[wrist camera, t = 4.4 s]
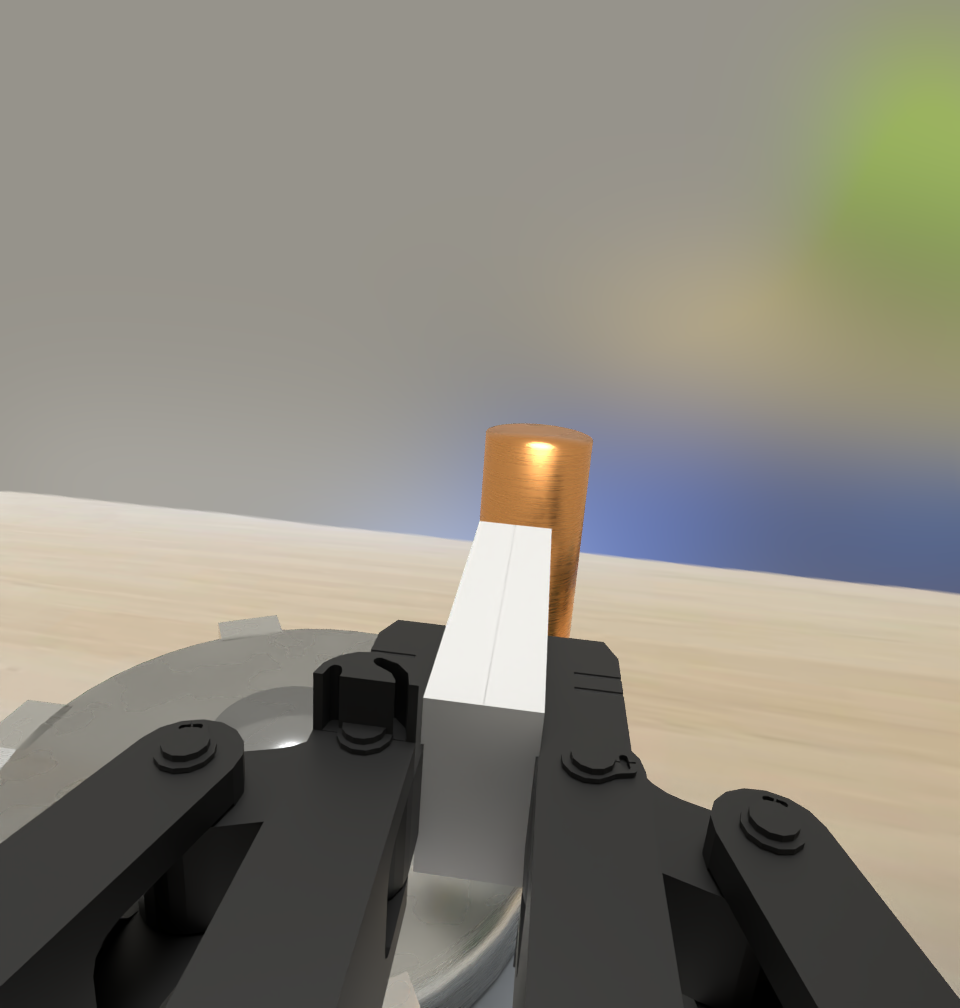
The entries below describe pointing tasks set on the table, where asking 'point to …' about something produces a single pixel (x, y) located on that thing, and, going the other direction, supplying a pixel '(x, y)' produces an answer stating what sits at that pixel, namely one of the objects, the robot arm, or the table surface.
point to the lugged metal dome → (289, 717)
